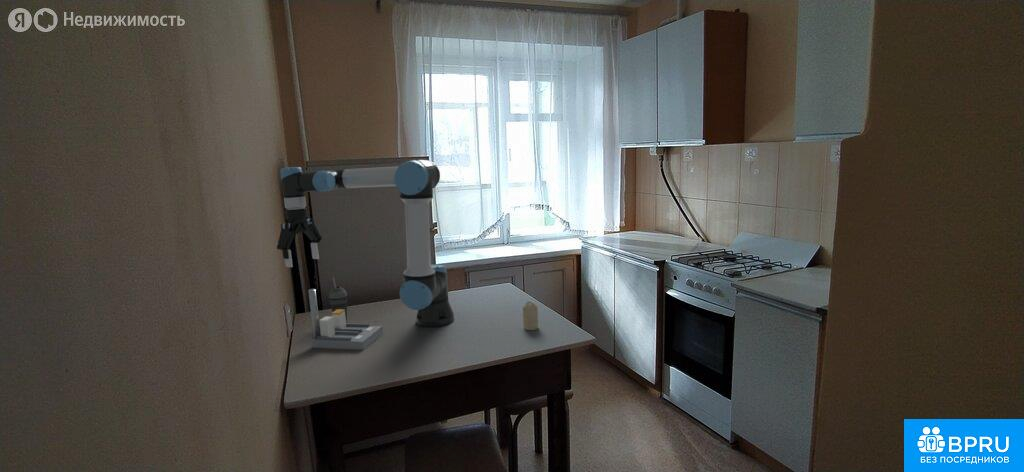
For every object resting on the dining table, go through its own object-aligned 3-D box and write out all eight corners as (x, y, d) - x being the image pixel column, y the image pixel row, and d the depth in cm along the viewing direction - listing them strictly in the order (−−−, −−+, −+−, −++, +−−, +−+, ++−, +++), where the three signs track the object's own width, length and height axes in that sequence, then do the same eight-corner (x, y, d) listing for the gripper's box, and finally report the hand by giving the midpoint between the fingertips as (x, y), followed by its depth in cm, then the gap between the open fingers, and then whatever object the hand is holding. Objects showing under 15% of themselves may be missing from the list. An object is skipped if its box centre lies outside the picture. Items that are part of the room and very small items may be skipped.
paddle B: (335, 334, 175) (333, 316, 174) (328, 338, 171) (326, 320, 170) (327, 334, 176) (325, 316, 175) (321, 338, 172) (319, 320, 171)
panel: (382, 333, 182) (381, 323, 181) (363, 349, 168) (362, 339, 167) (335, 332, 186) (334, 322, 185) (312, 347, 172) (311, 337, 171)
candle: (541, 327, 182) (540, 302, 180) (531, 331, 178) (530, 305, 176) (530, 324, 185) (529, 299, 184) (520, 328, 181) (519, 303, 180)
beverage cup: (344, 327, 190) (339, 279, 187) (327, 327, 192) (322, 279, 188) (353, 321, 197) (348, 274, 194) (337, 320, 199) (332, 274, 195)
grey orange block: (346, 326, 183) (344, 309, 182) (340, 330, 179) (338, 312, 178) (339, 326, 183) (337, 309, 182) (333, 330, 180) (331, 312, 178)
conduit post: (322, 336, 174) (316, 288, 170) (318, 339, 171) (312, 290, 168) (316, 336, 174) (310, 288, 171) (312, 338, 172) (306, 290, 169)
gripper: (312, 204, 194) (318, 255, 198) (261, 212, 171) (269, 270, 175) (327, 204, 191) (333, 255, 195) (276, 212, 168) (284, 271, 172)
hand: (303, 262), depth 185 cm, fingers open, 13 cm apart
